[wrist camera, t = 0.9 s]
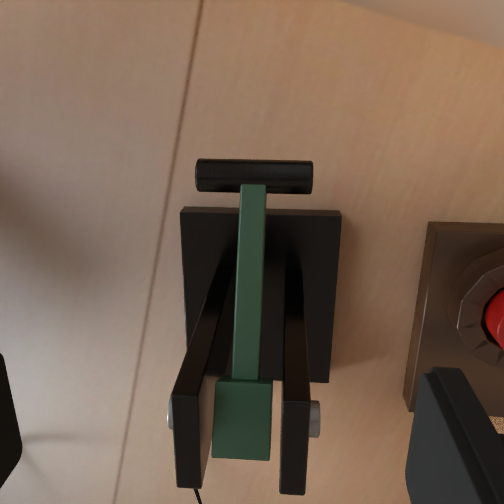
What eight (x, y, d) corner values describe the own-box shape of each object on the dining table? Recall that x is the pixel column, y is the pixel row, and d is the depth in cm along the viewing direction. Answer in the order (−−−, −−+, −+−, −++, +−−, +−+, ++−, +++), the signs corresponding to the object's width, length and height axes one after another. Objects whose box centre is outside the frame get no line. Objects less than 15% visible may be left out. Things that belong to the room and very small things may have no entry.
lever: (203, 168, 22) (193, 149, 20) (310, 170, 22) (314, 151, 20) (186, 440, 20) (174, 455, 18) (304, 447, 20) (307, 463, 18)
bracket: (183, 206, 28) (105, 311, 16) (339, 210, 27) (379, 322, 15) (191, 365, 32) (132, 544, 20) (327, 372, 31) (350, 560, 19)
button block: (427, 221, 27) (447, 242, 24) (593, 225, 26) (635, 248, 23) (402, 394, 31) (415, 432, 28) (543, 402, 31) (573, 441, 28)
